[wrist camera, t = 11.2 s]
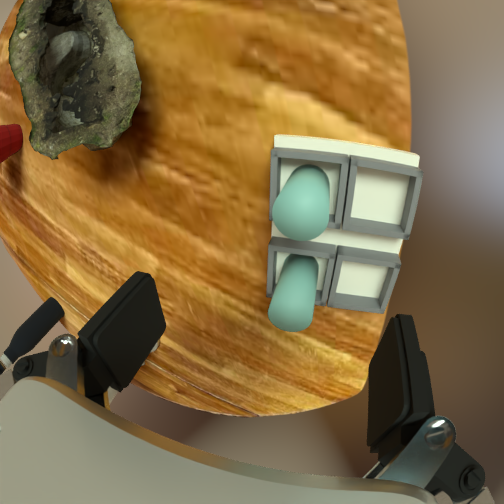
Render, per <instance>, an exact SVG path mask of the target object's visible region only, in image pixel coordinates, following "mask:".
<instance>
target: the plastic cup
mask: <svg viewBox="0 0 504 504" xmlns="http://www.w3.org/2000/svg"><path fill="white" fill-rule="evenodd" d="M22 142H23V135H22V130H21V127H20V125H18V124H11V125H1V126H0V163H1V162H3V161H4V160H6V159H7V158H8V157H10V156H11V155H13V154H14V153H16V152H18V150H20V149H21V147H22Z"/></svg>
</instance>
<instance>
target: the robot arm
mask: <svg viewBox="0 0 504 504" xmlns="http://www.w3.org/2000/svg"><path fill="white" fill-rule="evenodd" d="M165 329H166V322H165V319H164V315H163V312H162V308H161V304H160V301H159V297H158V293H157V289H156V285H155V281H154V279H153V278H152V276H151V275H150V274H148V273H144V272H139V271H137V272H135V273H134V274H133V275H132V276H131V277H130V278H129V279H128V280H127V281H126V282H125V283H124V284H123V285H122V286H121V287H120V288H119V289H118V290H117V291H116V292H115V293H114V294H113V296H112V297H111V298H110V299H109V300H108V301H107V302H106V303H105V304H104V305H103V306H102V307H101V308H100V309H99V310H98V311H97V312H96V313H95V315H94V316H93V317H92V318H91V319H90V320H89V321H88V322H87V323H86V324H85V325H84V327H83V328H82V329H81V330H80V331H79V332H78V333H77V334H78V336H79V338H78V339H76V337H75V336H73V335H71V334H63V335H60V336H58V337H56V338H55V339H54V340H53V341H52V342H51V344H50V346H49V350H48V351H45V352H42V353H38V354H33V355H29V356H25V357H23V358H21V359H19V360H18V361H17V362H16V364H15V366H14V368H13V369H10V370H8V371H6V372H5V373H3V374H1V375H0V504H495V502H494V500H493V498H492V496H491V494H490V492H489V490H488V488H487V487H486V488H484V487H483V485H484V481H485V472H484V469H483V468H482V466H481V465H480V464H479V463H478V462H477V461H475V460H474V459H473V458H472V457H471V456H470V455H469V454H467V453H466V452H465V451H464V450H463V449H461V447H460V446H458V445H457V444H456V443H455V440H456V430H455V427H454V425H453V423H452V422H451V421H450V420H449V419H447V418H445V417H443V416H435V410H434V402H433V395H432V388H431V383H430V376H429V370H428V365H427V360H426V356H425V353H424V352H423V351H420V348H419V342H418V338H417V333H416V329H415V325H414V321H413V317H412V316H411V315H404V314H397V315H396V316H395V318H393V317H392V318H391V319H390V321H389V323H388V326H387V328H386V330H385V332H384V335H383V337H382V339H381V341H380V343H379V345H378V347H377V349H376V351H375V353H374V356H373V358H372V359H371V362H370V364H369V402H368V429H367V446H371V448H370V453H378V461H379V462H378V463H377V464H376V465H375V466H374V467H373V468H372V469H371V470H370V471H369V472H368V473H367V474H366V475H365V476H364V477H363V478H348V477H332V476H321V475H312V474H304V473H295V472H289V471H282V470H276V469H271V468H266V467H261V466H256V465H252V464H247V463H243V462H239V461H235V460H232V459H228V458H224V457H221V456H217V455H214V454H211V453H208V452H205V451H201V450H198V449H196V448H193V447H190V446H187V445H184V444H181V443H179V442H176V441H173V440H171V439H168V438H166V437H164V436H161V435H159V434H156V433H154V432H152V431H150V430H148V429H145V428H143V427H141V426H139V425H137V424H135V423H132V422H130V421H128V420H126V419H124V418H123V417H121V416H119V415H117V414H115V413H113V412H111V411H110V405H109V404H110V403H111V401H112V400H113V398H114V397H115V395H116V393H117V392H118V391H119V392H121V391H122V390H123V388H126V387H127V386H128V385H129V383H130V382H131V380H132V379H133V377H134V376H135V374H136V373H137V371H138V370H139V368H140V367H141V365H144V364H145V359H146V358H147V356H148V355H149V353H150V352H153V351H155V350H156V349H157V347H158V346H159V342H160V341H159V339H160V337H161V336H162V334H163V333H164V331H165Z"/></svg>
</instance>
